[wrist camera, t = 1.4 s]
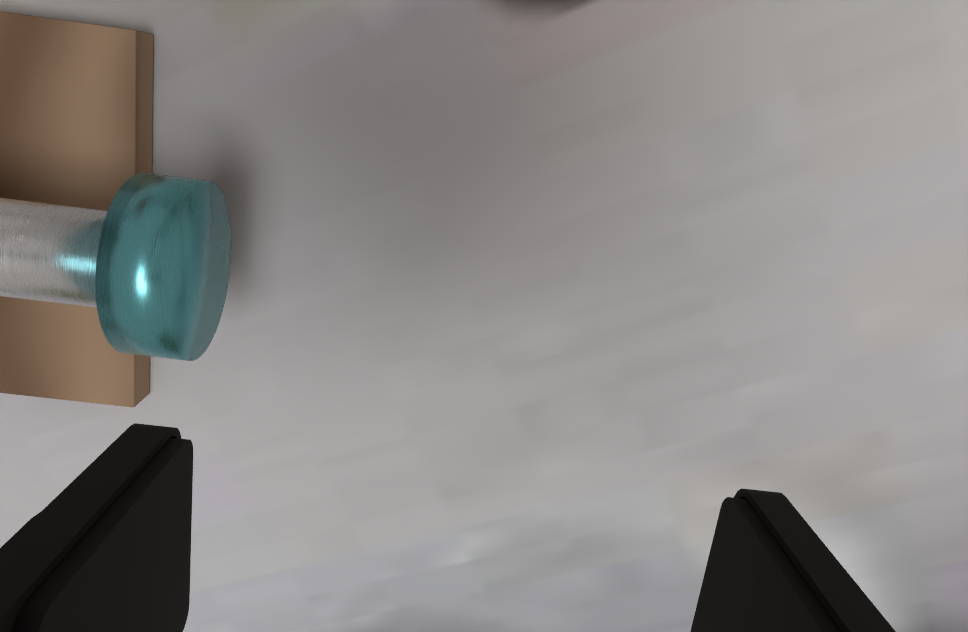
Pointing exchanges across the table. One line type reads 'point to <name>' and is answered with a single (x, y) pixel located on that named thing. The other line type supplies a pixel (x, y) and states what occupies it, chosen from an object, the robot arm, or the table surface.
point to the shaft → (128, 262)
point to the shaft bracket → (70, 187)
